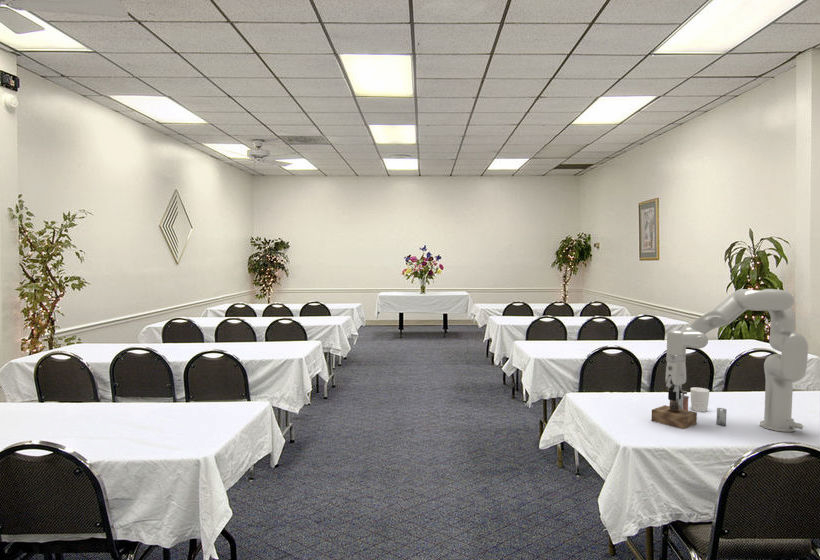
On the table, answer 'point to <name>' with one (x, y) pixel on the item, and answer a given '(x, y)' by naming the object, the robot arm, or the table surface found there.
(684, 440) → the table surface
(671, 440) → the table surface
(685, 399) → the silver copper upright piece
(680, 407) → the medium pin
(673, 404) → the long pin
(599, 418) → the table surface
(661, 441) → the table surface
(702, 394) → the white cup
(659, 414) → the socket block
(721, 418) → the short pin
